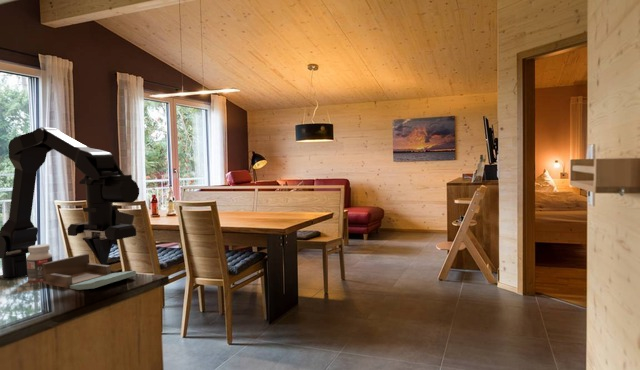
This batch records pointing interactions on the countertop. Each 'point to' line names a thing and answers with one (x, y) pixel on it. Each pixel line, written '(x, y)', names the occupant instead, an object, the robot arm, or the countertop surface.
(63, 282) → the wooden open crate
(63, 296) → the countertop surface
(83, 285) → the pale green rectangular panel
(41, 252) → the pill bottle
